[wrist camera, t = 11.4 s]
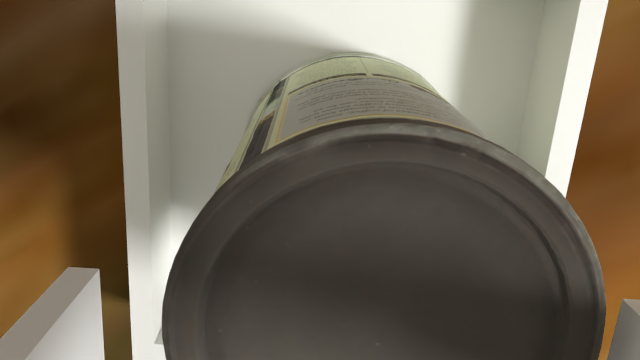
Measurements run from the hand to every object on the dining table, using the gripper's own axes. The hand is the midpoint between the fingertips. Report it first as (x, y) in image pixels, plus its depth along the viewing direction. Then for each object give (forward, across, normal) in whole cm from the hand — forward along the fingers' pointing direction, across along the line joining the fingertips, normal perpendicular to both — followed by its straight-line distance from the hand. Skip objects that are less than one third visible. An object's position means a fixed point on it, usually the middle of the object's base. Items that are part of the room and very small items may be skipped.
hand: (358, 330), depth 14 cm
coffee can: (+13, 0, -1) cm, 13 cm away
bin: (+14, 0, -1) cm, 14 cm away
